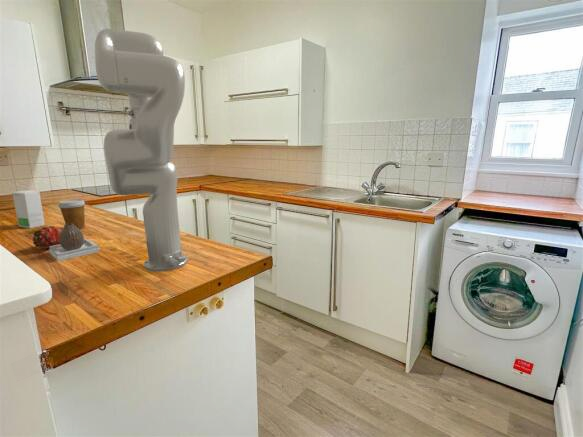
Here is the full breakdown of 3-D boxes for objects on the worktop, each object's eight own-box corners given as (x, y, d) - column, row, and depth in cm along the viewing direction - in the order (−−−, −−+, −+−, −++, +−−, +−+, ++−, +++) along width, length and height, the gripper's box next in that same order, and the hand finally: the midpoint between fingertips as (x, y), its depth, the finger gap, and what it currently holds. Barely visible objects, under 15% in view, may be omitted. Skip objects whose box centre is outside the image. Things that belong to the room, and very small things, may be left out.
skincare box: (18, 226, 142) (10, 192, 138) (34, 223, 148) (27, 189, 144) (30, 228, 139) (23, 193, 136) (46, 224, 145) (39, 190, 142)
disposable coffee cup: (86, 224, 146) (81, 198, 143) (91, 228, 139) (87, 201, 136) (60, 228, 139) (55, 201, 136) (65, 232, 132) (60, 204, 130)
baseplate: (99, 251, 110) (98, 245, 109) (57, 261, 101) (56, 254, 101) (89, 244, 118) (88, 238, 117) (49, 252, 109) (48, 246, 109)
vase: (81, 244, 114) (76, 220, 111) (88, 248, 109) (84, 223, 107) (58, 249, 108) (53, 224, 106) (65, 253, 104) (60, 228, 102)
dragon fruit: (39, 258, 108) (58, 251, 120) (60, 242, 109) (77, 237, 121) (20, 239, 107) (41, 234, 118) (41, 223, 107) (60, 219, 119)
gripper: (121, 113, 102) (128, 167, 106) (172, 115, 114) (176, 164, 118) (112, 114, 106) (119, 166, 111) (161, 117, 119) (166, 163, 123)
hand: (149, 165), depth 114 cm, fingers open, 9 cm apart
